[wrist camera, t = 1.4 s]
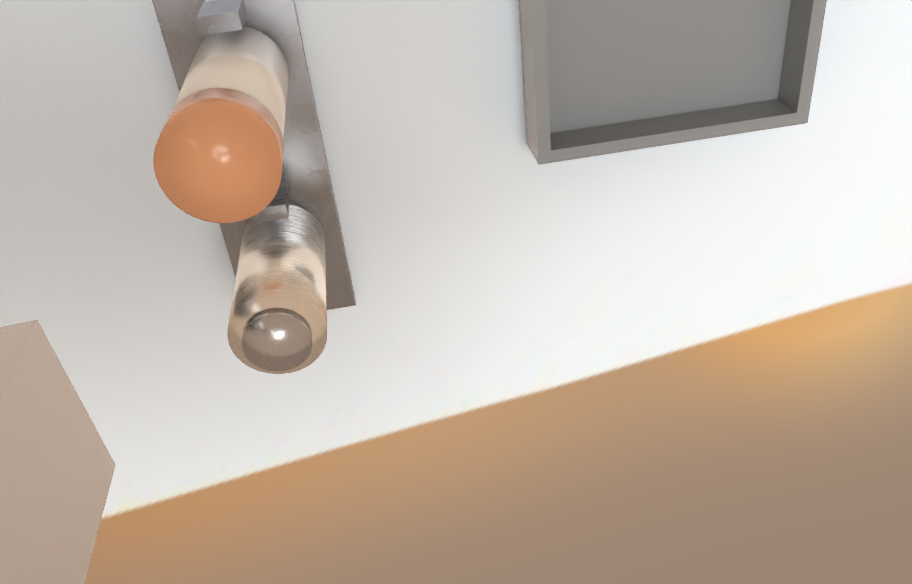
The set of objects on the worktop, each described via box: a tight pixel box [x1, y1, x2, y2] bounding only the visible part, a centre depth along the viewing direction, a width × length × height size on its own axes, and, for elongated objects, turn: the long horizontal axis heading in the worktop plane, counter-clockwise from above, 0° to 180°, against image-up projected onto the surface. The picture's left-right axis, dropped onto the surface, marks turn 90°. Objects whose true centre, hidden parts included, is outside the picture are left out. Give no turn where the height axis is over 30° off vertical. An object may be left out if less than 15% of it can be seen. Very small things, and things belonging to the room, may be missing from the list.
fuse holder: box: [152, 0, 356, 374], centre depth 31 cm, size 6×26×9 cm, turn 6°
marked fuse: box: [154, 26, 289, 223], centre depth 31 cm, size 4×4×10 cm
